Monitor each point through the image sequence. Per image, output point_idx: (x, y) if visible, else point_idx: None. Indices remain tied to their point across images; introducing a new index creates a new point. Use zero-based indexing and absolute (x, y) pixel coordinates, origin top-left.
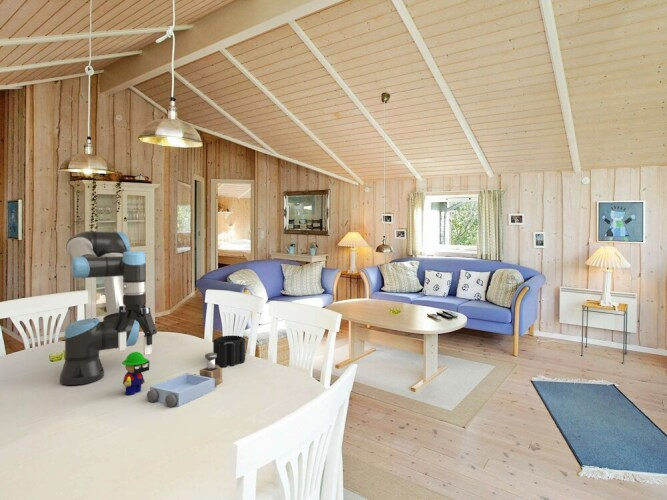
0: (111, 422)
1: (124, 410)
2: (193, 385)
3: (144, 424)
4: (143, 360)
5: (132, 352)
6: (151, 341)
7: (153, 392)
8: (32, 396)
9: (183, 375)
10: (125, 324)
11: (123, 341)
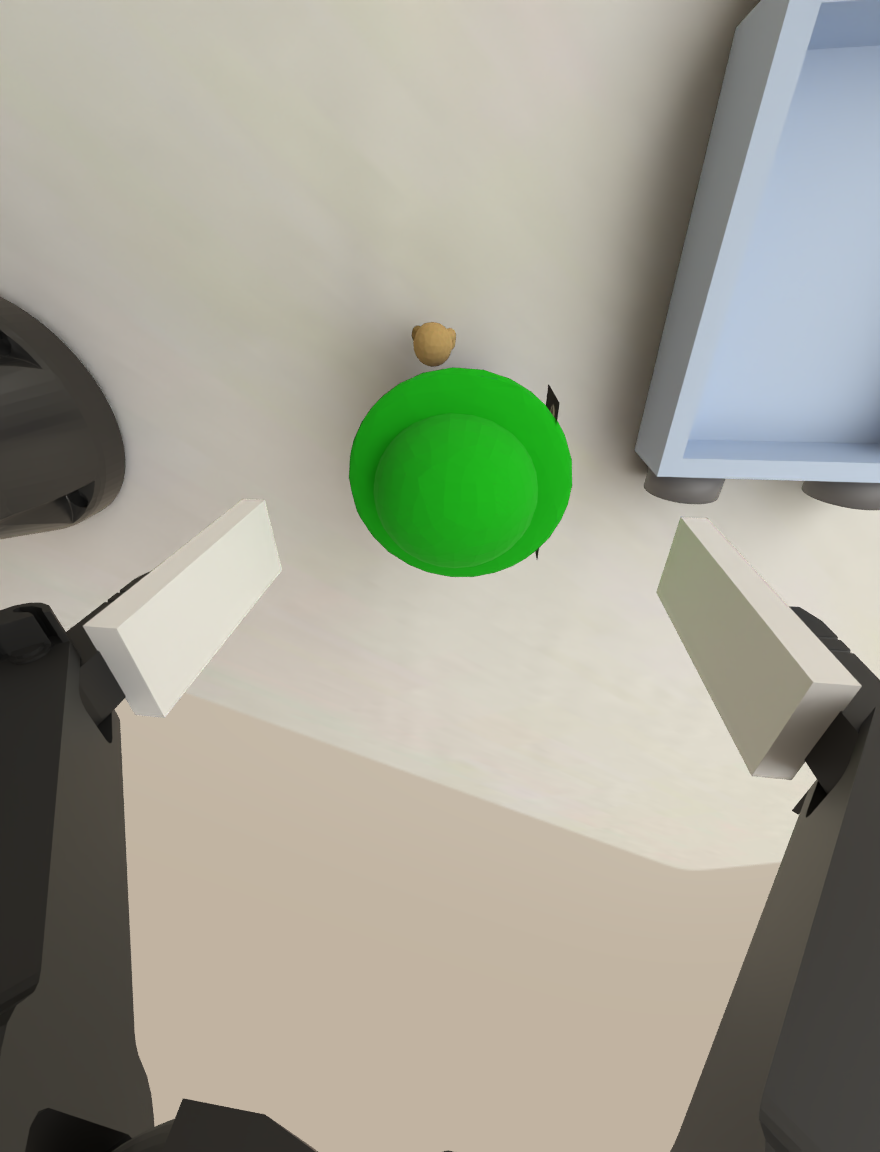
0: (647, 668)
1: (609, 589)
2: (869, 73)
3: None
4: (531, 458)
5: (421, 534)
6: (832, 649)
7: (713, 500)
8: None
9: (796, 81)
10: (95, 831)
11: (225, 582)
